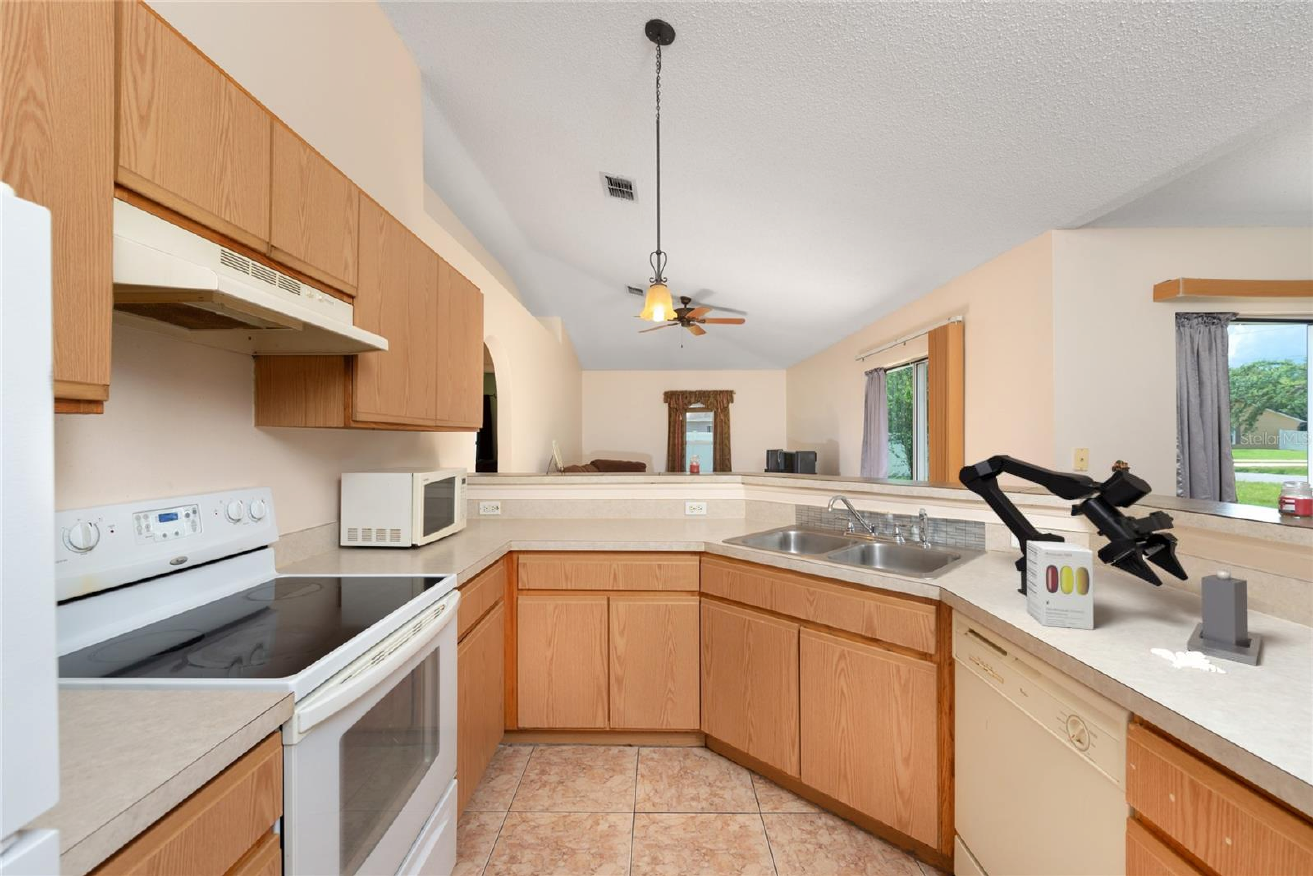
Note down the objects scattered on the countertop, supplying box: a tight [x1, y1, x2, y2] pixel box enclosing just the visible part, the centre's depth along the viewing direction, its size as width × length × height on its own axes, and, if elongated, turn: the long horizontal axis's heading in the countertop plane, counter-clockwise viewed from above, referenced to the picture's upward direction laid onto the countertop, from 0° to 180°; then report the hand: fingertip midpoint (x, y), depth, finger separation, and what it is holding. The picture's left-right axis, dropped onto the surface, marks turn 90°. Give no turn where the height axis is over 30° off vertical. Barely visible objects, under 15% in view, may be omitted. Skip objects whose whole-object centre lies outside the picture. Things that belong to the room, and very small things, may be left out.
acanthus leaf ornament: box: [1150, 648, 1227, 674], centre depth 91 cm, size 8×7×2 cm
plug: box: [1201, 569, 1249, 648], centre depth 97 cm, size 4×4×14 cm
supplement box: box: [1026, 541, 1095, 631], centre depth 112 cm, size 10×9×17 cm
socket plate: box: [1186, 621, 1262, 667], centre depth 97 cm, size 16×8×2 cm, turn 128°
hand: (1173, 582), depth 104 cm, fingers open, 9 cm apart
